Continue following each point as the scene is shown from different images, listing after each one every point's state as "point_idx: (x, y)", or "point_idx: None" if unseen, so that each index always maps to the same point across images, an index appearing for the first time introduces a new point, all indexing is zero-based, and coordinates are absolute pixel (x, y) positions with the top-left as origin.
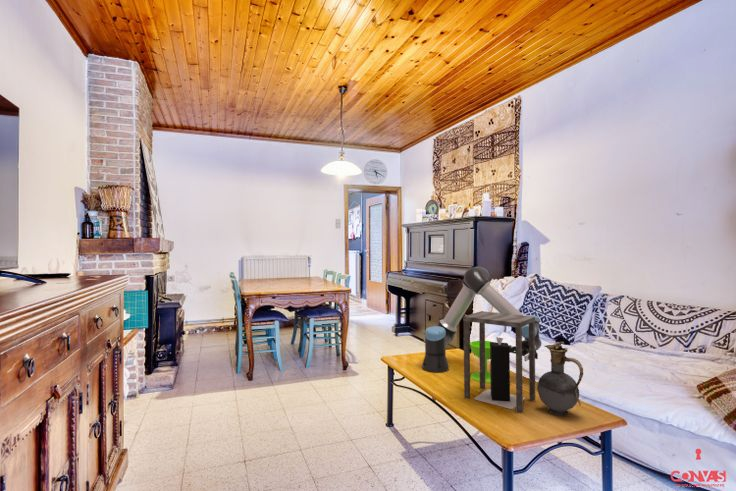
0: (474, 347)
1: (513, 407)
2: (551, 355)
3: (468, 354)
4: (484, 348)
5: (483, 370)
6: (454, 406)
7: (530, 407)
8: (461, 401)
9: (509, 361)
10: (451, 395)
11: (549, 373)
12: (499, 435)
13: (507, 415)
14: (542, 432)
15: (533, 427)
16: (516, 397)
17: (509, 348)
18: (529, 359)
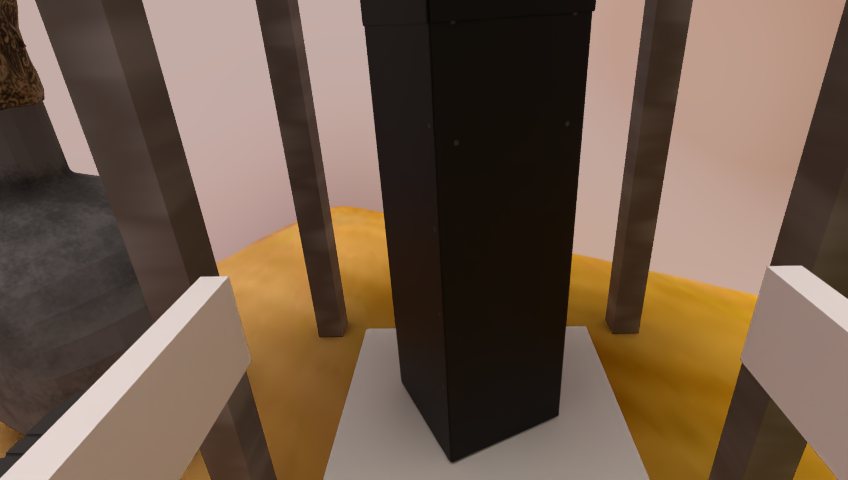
0: None
1: (366, 337)
2: (21, 37)
3: (640, 58)
4: (841, 131)
5: (741, 371)
6: (584, 256)
7: (280, 393)
8: (605, 292)
9: (375, 125)
10: (704, 313)
11: (94, 178)
12: (367, 215)
13: (375, 287)
14: (248, 260)
15: (275, 268)
16: (336, 260)
17: (362, 5)
18: (188, 182)
